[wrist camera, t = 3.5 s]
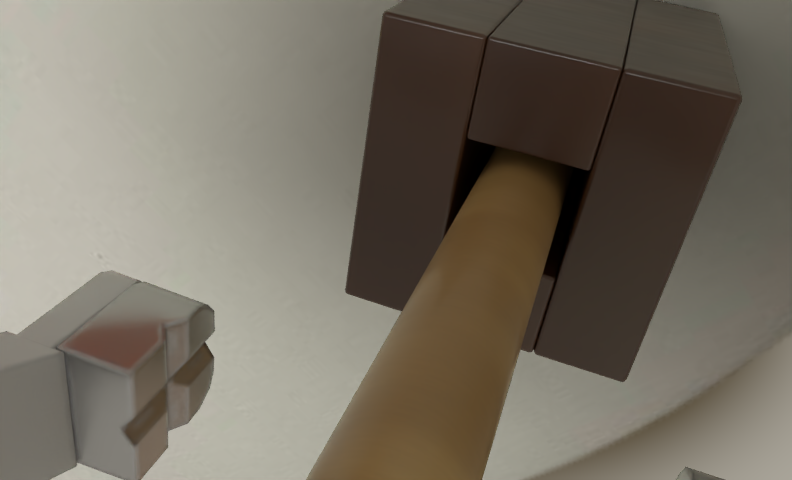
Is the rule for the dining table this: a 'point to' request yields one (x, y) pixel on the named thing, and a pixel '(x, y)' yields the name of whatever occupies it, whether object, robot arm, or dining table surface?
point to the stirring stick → (455, 336)
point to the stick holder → (547, 150)
